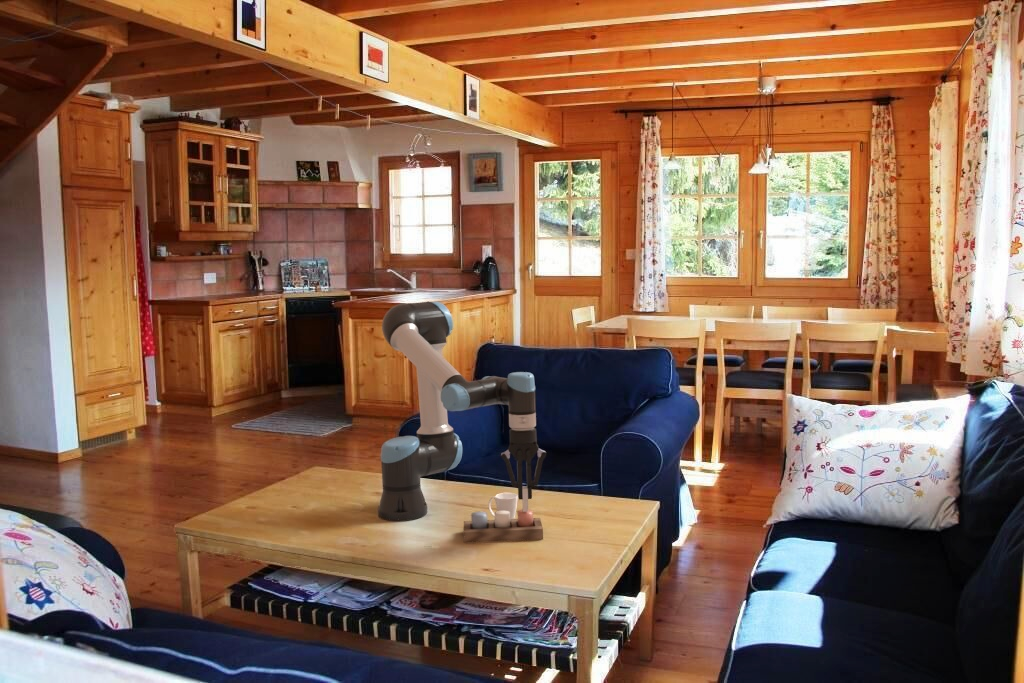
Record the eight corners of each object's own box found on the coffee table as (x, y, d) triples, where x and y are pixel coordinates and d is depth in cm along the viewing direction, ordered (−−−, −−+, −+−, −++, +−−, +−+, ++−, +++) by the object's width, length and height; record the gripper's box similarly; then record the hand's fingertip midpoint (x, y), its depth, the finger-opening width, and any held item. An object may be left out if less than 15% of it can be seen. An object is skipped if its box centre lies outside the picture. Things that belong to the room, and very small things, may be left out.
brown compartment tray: (463, 542, 241) (463, 532, 240) (464, 531, 251) (463, 521, 250) (543, 539, 242) (542, 528, 241) (540, 527, 252) (540, 517, 251)
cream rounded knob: (495, 529, 244) (494, 515, 243) (494, 524, 248) (494, 510, 248) (510, 528, 244) (510, 514, 243) (510, 523, 248) (509, 510, 248)
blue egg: (471, 530, 243) (471, 516, 243) (471, 525, 248) (471, 511, 247) (487, 529, 244) (487, 515, 243) (487, 524, 248) (486, 511, 247)
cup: (510, 527, 253) (509, 500, 252) (482, 522, 259) (481, 495, 258) (523, 520, 259) (522, 494, 258) (496, 515, 264) (495, 489, 264)
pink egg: (518, 528, 244) (517, 514, 243) (517, 523, 248) (517, 509, 248) (533, 527, 244) (533, 513, 244) (532, 522, 248) (532, 509, 248)
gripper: (499, 431, 239) (503, 515, 242) (547, 429, 240) (549, 513, 242) (499, 426, 247) (502, 507, 249) (544, 424, 247) (547, 505, 250)
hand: (525, 510), depth 246 cm, fingers closed
